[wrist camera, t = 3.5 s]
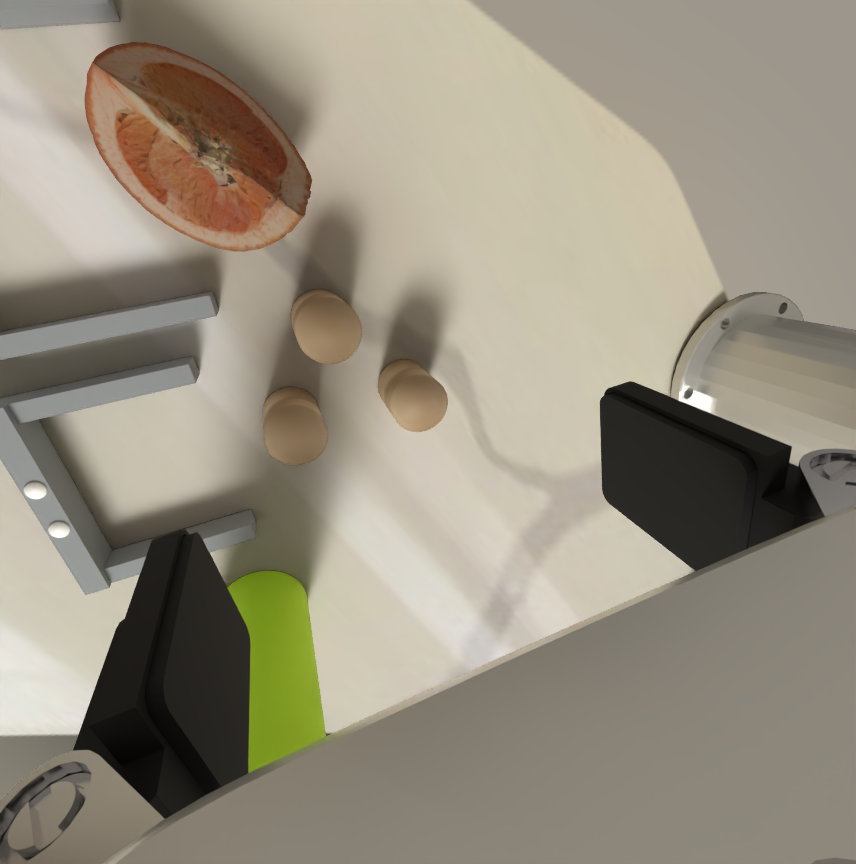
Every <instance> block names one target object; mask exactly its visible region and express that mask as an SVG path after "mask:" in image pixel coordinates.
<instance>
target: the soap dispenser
mask: <svg viewBox="0 0 856 864" xmlns="http://www.w3.org/2000/svg"><path fill="white" fill-rule="evenodd" d="M227 588H228V590H229V592H230V594H231V596H232V598H233V600H234V602H235V604H236V606H237V608H238V610H239V612H240V614H241V616H242V618H243V620H244V622H245V624H246V626H247V628H248V631H249V635H250V644H251V646H250V702H249V758H248V773H250V772H252V771H254V770H256V769H258V768H260V767H262V766H265V765H267V764H269V763H271V762H273V761H275V760H277V759H279V758H281V757H284V756H286V755H288V754H290V753H292V752H294V751H296V750H298V749H301V748H303V747H305V746H307V745H309V744H311V743H313V742H316V741H318V740H320V739H322V738H324V737H326V734H325V726H324V719H323V711H322V704H321V697H320V689H319V682H318V675H317V667H316V660H315V652H314V645H313V638H312V630H311V623H310V616H309V608H308V601H307V595H306V591H305V589H304V587H303V586H302V584H301V583H300V582H299V581H298V580H297V579H295V578H294V577H292V576H291V575H288V574H286V573H283V572H278V571H260V572H255V573H251V574H248V575H245V576H243V577H241V578H239V579H238V580H236V581H234V582H233V583H232V584H231V585H229V586H228V587H227Z"/></svg>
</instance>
